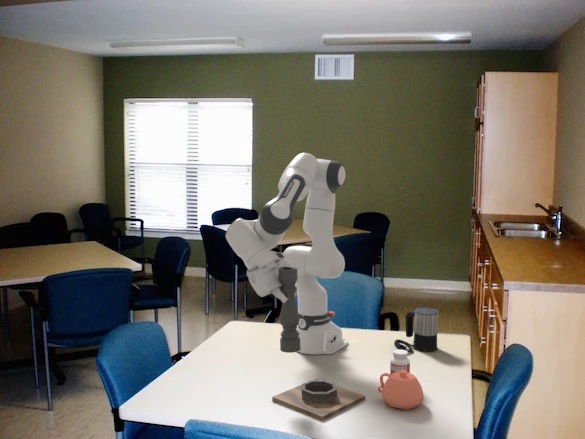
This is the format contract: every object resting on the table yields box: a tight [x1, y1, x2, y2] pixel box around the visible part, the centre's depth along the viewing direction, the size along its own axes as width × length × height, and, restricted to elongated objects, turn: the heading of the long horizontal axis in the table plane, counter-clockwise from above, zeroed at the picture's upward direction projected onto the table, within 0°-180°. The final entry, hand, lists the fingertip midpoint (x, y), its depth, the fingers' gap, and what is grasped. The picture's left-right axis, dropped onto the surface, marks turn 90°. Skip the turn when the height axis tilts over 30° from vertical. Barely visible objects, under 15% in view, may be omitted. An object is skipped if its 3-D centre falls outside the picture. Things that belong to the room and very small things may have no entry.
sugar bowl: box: [377, 370, 424, 411], centre depth 185 cm, size 12×14×10 cm
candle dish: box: [271, 378, 366, 421], centre depth 188 cm, size 20×20×4 cm
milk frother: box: [393, 307, 440, 354], centre depth 233 cm, size 14×16×15 cm
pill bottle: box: [389, 349, 411, 375], centre depth 200 cm, size 6×6×11 cm
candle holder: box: [279, 267, 301, 354], centre depth 187 cm, size 6×6×25 cm
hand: (291, 299), depth 186 cm, fingers closed on candle holder, 4 cm apart
